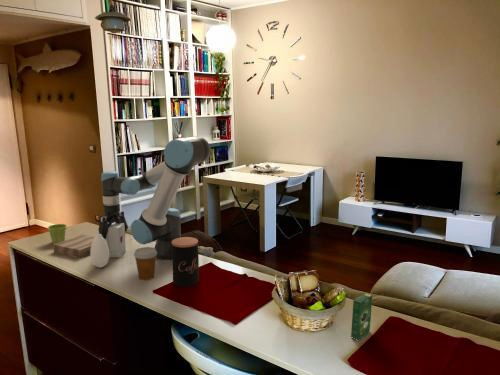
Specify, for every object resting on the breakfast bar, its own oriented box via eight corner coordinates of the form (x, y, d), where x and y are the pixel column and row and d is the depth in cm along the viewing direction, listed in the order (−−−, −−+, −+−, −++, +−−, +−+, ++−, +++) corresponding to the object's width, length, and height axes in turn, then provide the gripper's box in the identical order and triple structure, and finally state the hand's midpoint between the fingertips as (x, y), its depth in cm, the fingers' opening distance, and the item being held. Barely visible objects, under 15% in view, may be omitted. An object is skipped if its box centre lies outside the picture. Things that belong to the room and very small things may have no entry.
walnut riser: (108, 246, 215) (107, 239, 214) (80, 258, 199) (79, 250, 198) (82, 241, 222) (81, 234, 221) (53, 252, 206) (53, 244, 205)
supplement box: (120, 257, 199) (118, 227, 196) (102, 257, 199) (99, 227, 196) (126, 251, 208) (124, 222, 205) (108, 251, 208) (106, 222, 205)
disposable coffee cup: (162, 274, 180) (161, 248, 177) (150, 283, 171) (149, 255, 169) (143, 271, 183) (142, 245, 181) (130, 280, 174) (129, 252, 172)
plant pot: (63, 245, 217) (61, 229, 215) (45, 244, 217) (43, 228, 215) (71, 239, 226) (69, 224, 224) (53, 239, 226) (52, 223, 224)
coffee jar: (177, 290, 165) (176, 246, 161) (169, 280, 174) (168, 239, 171) (202, 284, 170) (202, 242, 166) (193, 275, 179) (192, 235, 176)
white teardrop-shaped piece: (88, 267, 188) (85, 228, 184) (104, 262, 193) (102, 225, 190) (96, 271, 182) (94, 232, 179) (113, 266, 188) (110, 228, 185)
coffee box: (362, 328, 137) (364, 291, 135) (370, 331, 135) (373, 294, 133) (350, 338, 131) (352, 299, 129) (358, 341, 129) (360, 302, 127)
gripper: (122, 198, 211) (124, 239, 215) (86, 208, 190) (89, 253, 194) (134, 199, 208) (136, 241, 212) (98, 210, 187) (102, 256, 191)
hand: (114, 247), depth 203 cm, fingers closed on supplement box, 11 cm apart
